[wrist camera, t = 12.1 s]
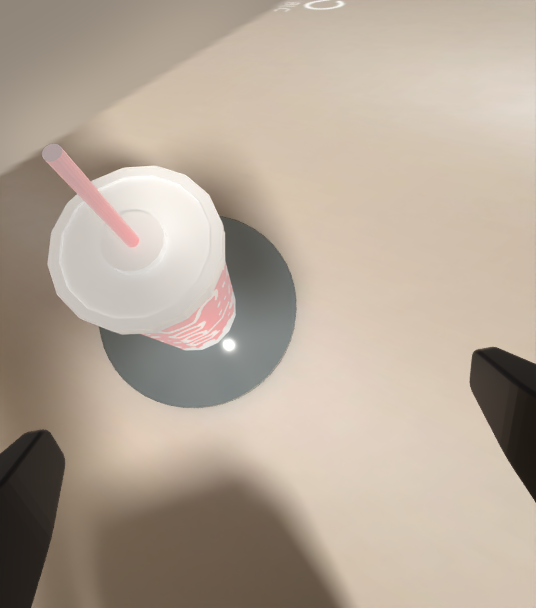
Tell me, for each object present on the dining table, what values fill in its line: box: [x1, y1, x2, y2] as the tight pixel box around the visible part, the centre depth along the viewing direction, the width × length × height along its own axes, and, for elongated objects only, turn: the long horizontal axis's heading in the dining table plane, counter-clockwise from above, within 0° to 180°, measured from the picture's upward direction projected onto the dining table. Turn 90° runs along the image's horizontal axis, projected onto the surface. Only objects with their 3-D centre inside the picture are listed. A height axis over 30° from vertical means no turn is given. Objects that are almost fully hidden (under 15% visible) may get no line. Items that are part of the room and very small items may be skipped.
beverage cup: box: [42, 143, 236, 350], centre depth 16 cm, size 6×6×14 cm
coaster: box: [100, 216, 296, 408], centre depth 23 cm, size 11×11×1 cm
